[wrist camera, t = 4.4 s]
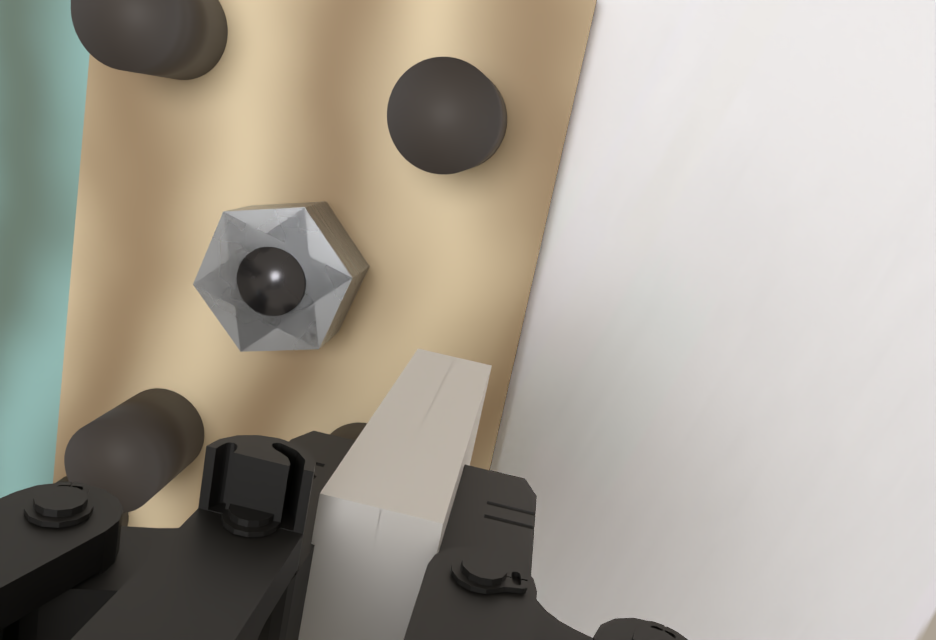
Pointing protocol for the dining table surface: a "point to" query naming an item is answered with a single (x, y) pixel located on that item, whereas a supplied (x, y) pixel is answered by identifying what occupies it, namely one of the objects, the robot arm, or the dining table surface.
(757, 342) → the dining table surface
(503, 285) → the board
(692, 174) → the dining table surface
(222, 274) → the nut
